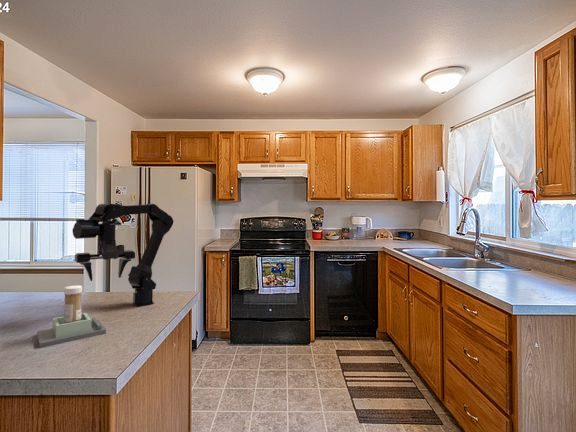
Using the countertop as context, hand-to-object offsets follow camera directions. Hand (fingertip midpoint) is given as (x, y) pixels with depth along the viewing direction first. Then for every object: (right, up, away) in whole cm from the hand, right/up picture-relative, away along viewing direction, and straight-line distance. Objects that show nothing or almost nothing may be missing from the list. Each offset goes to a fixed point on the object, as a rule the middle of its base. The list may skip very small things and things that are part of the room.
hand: (105, 279), depth 112 cm
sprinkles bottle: (+1, -12, -19) cm, 22 cm away
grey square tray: (+1, -13, -19) cm, 23 cm away
